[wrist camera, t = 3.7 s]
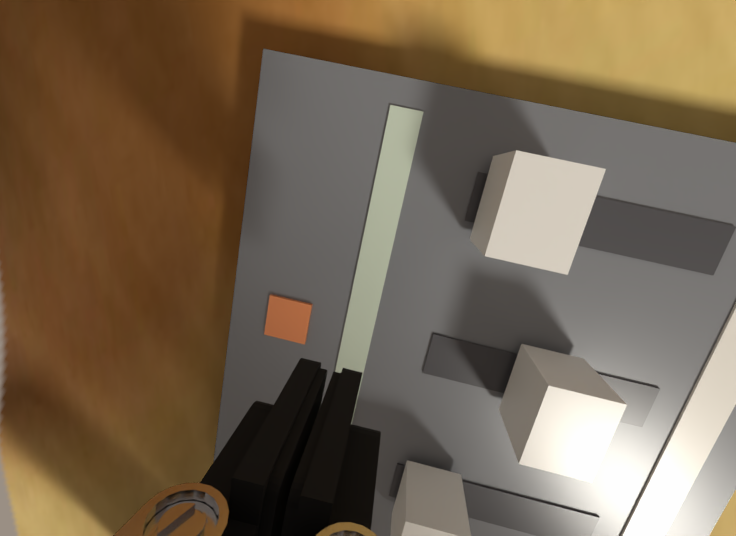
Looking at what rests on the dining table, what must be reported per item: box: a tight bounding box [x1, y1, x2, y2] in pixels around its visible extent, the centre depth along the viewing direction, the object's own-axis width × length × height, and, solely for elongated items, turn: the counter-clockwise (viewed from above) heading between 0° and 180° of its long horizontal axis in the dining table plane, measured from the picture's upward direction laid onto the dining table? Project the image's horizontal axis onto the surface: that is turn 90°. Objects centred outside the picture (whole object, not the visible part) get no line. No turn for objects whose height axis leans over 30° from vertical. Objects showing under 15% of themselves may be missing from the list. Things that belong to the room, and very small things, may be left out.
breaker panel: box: [213, 49, 736, 536], centre depth 15 cm, size 22×20×5 cm
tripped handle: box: [499, 344, 627, 483], centre depth 13 cm, size 2×3×3 cm
